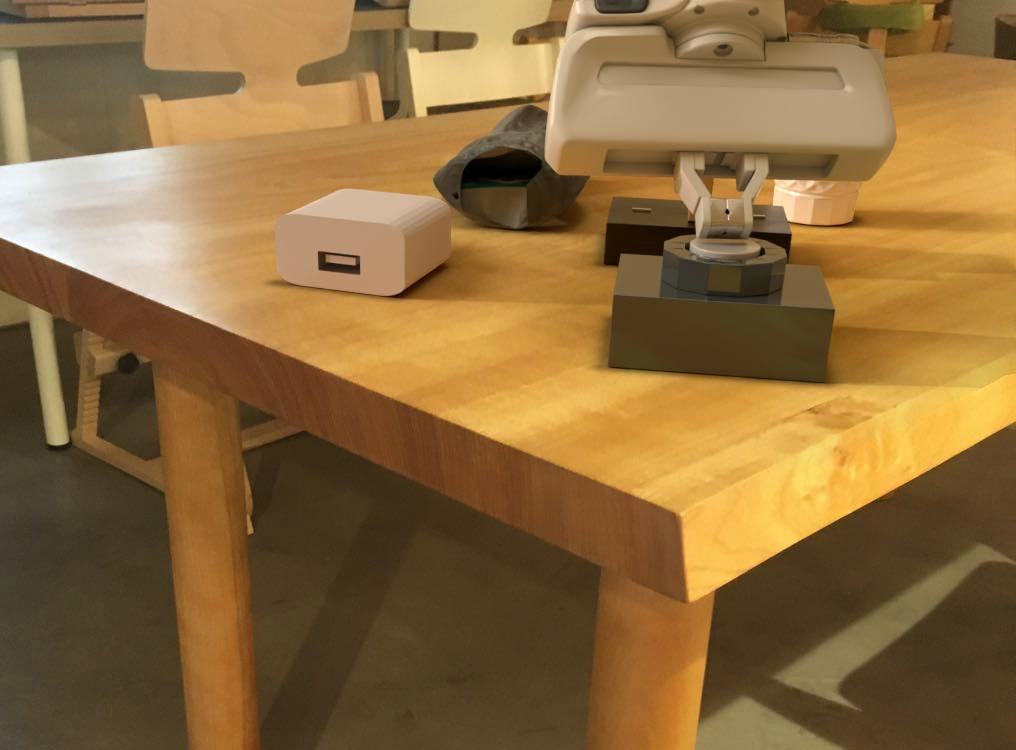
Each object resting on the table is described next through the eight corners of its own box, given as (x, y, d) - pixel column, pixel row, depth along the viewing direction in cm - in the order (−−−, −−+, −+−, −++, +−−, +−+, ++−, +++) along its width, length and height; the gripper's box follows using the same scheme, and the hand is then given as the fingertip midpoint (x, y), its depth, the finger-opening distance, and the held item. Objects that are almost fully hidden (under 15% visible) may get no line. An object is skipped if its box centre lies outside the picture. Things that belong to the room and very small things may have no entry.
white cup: (822, 203, 110) (840, 84, 105) (879, 224, 103) (902, 98, 99) (746, 209, 107) (761, 87, 102) (801, 230, 101) (820, 101, 96)
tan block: (688, 204, 94) (692, 158, 93) (707, 205, 94) (713, 159, 93) (687, 221, 90) (692, 172, 88) (708, 222, 89) (714, 173, 88)
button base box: (809, 332, 77) (824, 236, 74) (823, 382, 69) (841, 276, 66) (615, 319, 79) (623, 224, 76) (607, 366, 71) (615, 262, 68)
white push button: (754, 272, 73) (759, 237, 72) (758, 291, 70) (762, 255, 69) (686, 268, 74) (689, 233, 73) (686, 286, 70) (689, 250, 69)
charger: (478, 245, 94) (404, 298, 81) (366, 233, 96) (277, 282, 84) (480, 181, 92) (404, 225, 79) (365, 170, 94) (273, 211, 82)
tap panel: (777, 243, 97) (783, 202, 95) (786, 277, 88) (793, 232, 87) (610, 233, 98) (613, 193, 97) (603, 265, 90) (606, 221, 88)
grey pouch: (579, 237, 96) (611, 169, 118) (577, 141, 93) (610, 89, 114) (414, 239, 99) (475, 172, 120) (407, 146, 96) (470, 94, 117)
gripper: (863, 71, 78) (885, 266, 74) (539, 63, 78) (543, 259, 73) (899, -1, 72) (925, 207, 68) (549, -10, 72) (553, 199, 67)
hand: (724, 234), depth 71 cm, fingers closed, pressing on white push button
